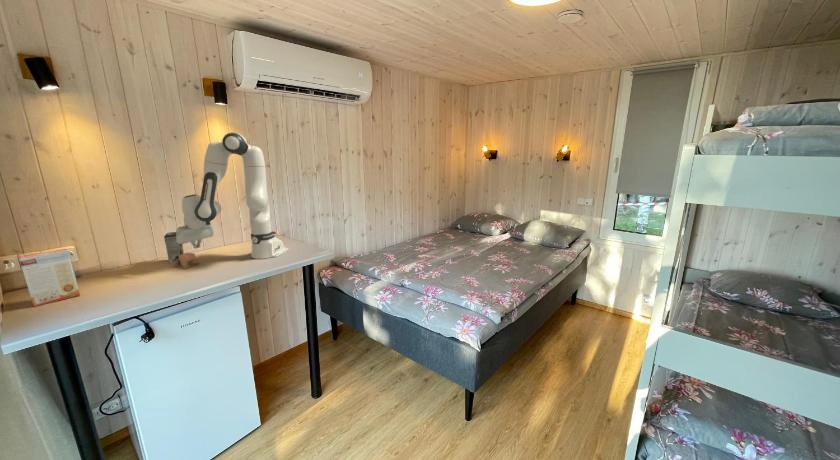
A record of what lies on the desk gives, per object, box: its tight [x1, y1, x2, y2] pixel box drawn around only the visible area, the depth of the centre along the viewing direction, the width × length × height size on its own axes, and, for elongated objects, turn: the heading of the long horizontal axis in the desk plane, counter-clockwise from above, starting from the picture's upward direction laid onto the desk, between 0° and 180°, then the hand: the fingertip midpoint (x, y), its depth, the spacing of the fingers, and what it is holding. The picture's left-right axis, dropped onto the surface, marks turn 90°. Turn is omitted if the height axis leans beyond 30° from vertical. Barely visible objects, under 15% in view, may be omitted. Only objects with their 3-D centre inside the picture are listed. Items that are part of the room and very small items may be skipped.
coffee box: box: [163, 231, 185, 264], centre depth 195 cm, size 9×6×16 cm
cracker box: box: [18, 248, 81, 307], centre depth 144 cm, size 14×6×21 cm, turn 141°
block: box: [179, 252, 196, 267], centre depth 187 cm, size 5×5×6 cm
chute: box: [172, 258, 199, 270], centre depth 183 cm, size 15×9×4 cm, turn 163°
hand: (197, 247), depth 192 cm, fingers closed
